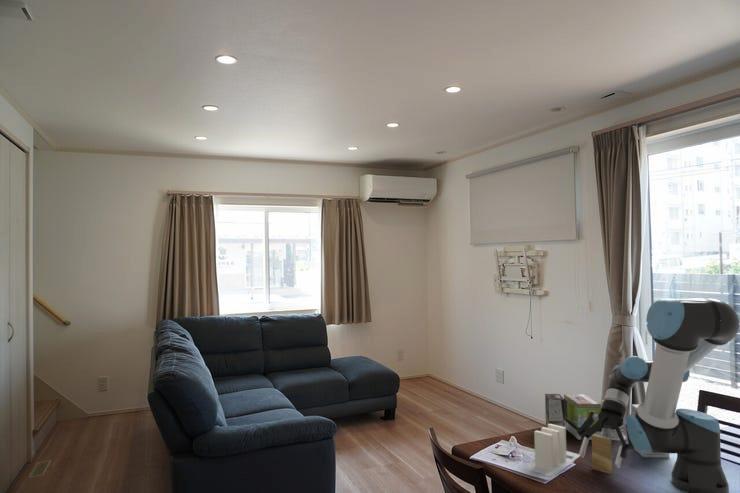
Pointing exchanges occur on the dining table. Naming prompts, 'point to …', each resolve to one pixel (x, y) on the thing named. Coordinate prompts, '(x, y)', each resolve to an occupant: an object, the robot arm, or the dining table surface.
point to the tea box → (579, 412)
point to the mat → (570, 458)
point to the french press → (612, 431)
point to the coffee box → (554, 410)
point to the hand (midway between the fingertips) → (598, 460)
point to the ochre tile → (602, 453)
